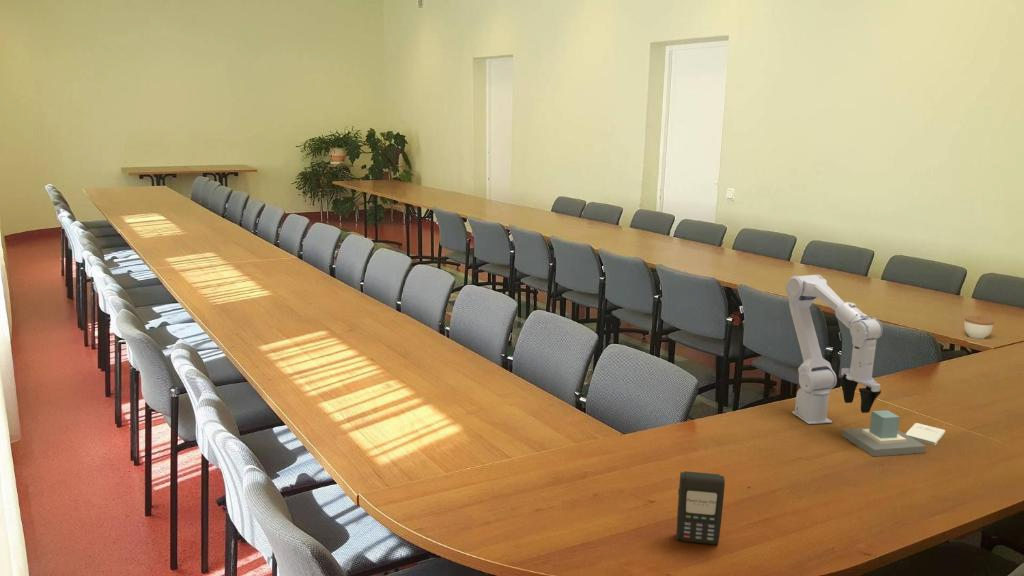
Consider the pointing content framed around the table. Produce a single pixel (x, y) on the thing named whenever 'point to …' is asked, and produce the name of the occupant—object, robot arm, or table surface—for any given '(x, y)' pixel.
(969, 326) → the lidded jar
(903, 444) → the base board
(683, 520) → the card reader
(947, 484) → the table surface
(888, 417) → the block
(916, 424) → the external hard drive
